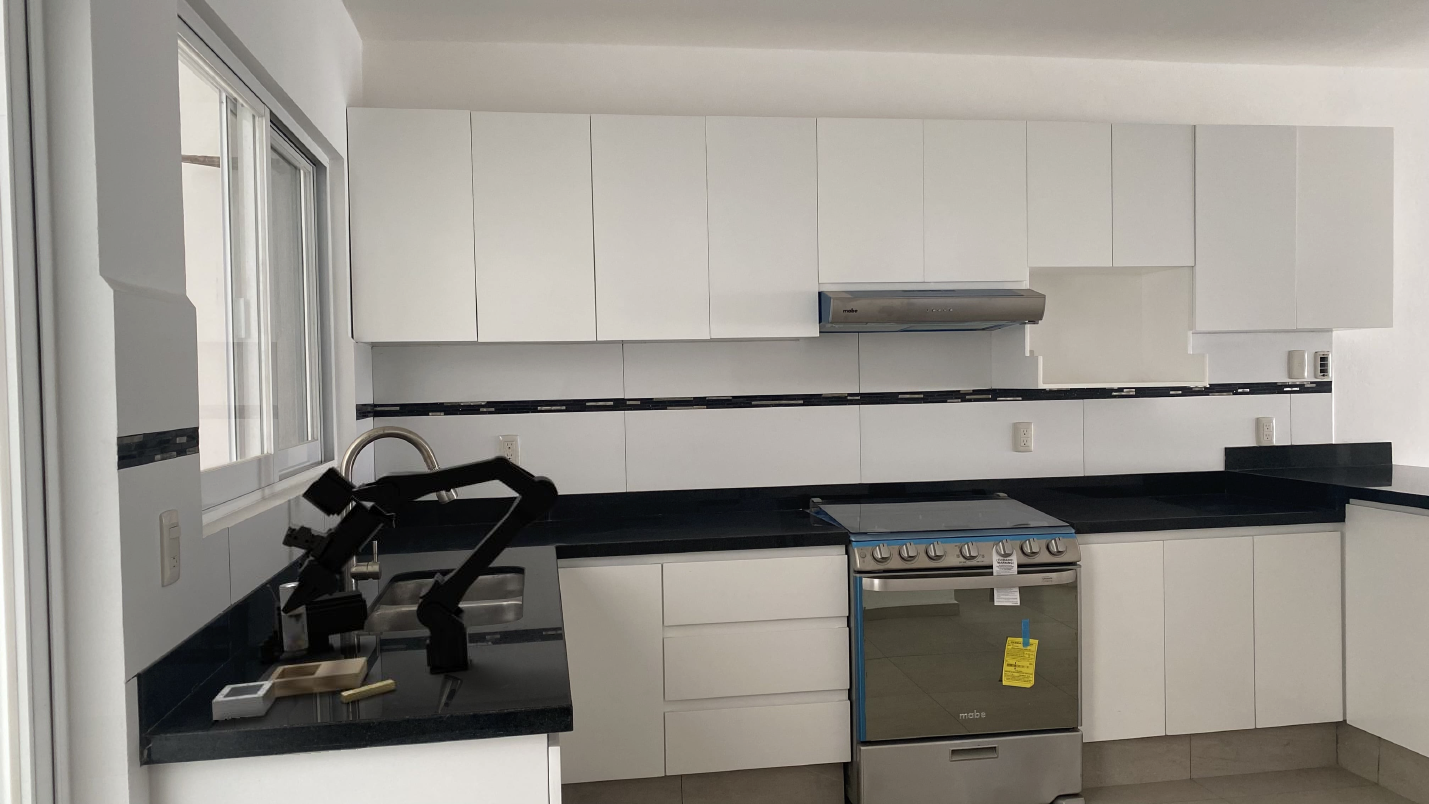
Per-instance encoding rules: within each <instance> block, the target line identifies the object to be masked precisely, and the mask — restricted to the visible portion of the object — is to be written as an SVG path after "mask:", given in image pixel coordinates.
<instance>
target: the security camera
mask: <svg viewBox="0 0 1429 804" xmlns="http://www.w3.org/2000/svg"><path fill="white" fill-rule="evenodd" d="M305 610H306V623H307V635H308V647H307V648H304V649H305V654H306V655H307V656H308V655H309V654H310V655H314V653H315V654H320V653H319V652H321V653H324V652H325V651H326V652H330V651H329V650H331V651H334V650H335V647H334V646H335V645H334V644H333V643H332V642H331V643H330V636H334V635H341V634H346V633H351V632H357V631H363V630H365V624H366V621H368V617H369V614H368V604H367V599H366V598H365V597H363V593H362V591H360V589H352V590H345V591H341V592H340V591H339V592H338V591H337V592H335V593H334V594H333V595H332V596H329V595H328V594H327V595H324V596H322V597H320V598H318V599H316V600H314V601H312V602H310V603H308V604H306V605H305ZM274 621H275V622H274V623H275V628H274V629H272V630H271V631H272V633H271V634H270V633H269V634H267V638H265V639H263V643H262V644H261V643H260V644H258V649H259V659H260V660H263V659H264V661H265V662H266V663H270V662H269V661H272V662H276V661H275V660H277V661H280V660H281V659H280V654H279V652H275V648H277V647H278V648H277V649H278V651H285V650H284V639H283V626H282V614H281V602H280V601H278V602H275V604H274ZM326 652H325V653H326Z"/></svg>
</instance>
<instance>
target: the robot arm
mask: <svg viewBox="0 0 1429 804" xmlns="http://www.w3.org/2000/svg"><path fill="white" fill-rule="evenodd" d="M493 481H499V482H500V483H502V484H504V485H505V486H506V487H508V488H509V489H510V490H512V491H513V492H515V493H516V494H517V495H518V496H517V497H516V499H515V501H514V502H513V504H512V506H511V507H510V509H509V511H508V512H507V514H506V515H505V516H504V517H503V518H502V519H501V520H500V521H499V522H498V523H497V524H496V525H495V526H494V527H493V529H492V530H491V531H490V532H489V533H487V535H486V536H485V537H484V538H483V539H482V540H481V541H480V542H479V543H478V544H477V545H476V546H475V548H474V549H473V550H472V551H470V553H469V554H468V555H467V556H466V557H465V558H464V559H463V561H461V562H460V564H458V566H457V567H456V568H455V569H454V570H453V571H451V572H450V573H448V574H447V575H446V576H443V575H442V574H441V573H440V572H437V573H436V574H435V576H434V577H433V578H432V580H431V582H430V583H429V584H427V585H426V586H424V587H422V588H421V589H422V590H421V592H420V594H419V598H418V599H419V602H418V605H417V607H416V611H415V612H416V617H417V621H418V623H420V624H421V625H422V626H423V627H425V628H427V629H428V631H429V634H428V639H426V643H425V649H426V651H425V652H426V666H427V667H428V668H429V670H428V671H429V672H428V673H429V674H434V673H444V672H452V671H453V672H454V671H463V670H469V668H470V662H471V655H470V651H469V649H470V648H469V632H468V630H469V629H468V626H465V624H466V623H465V622H466V617H467V612H466V610H464V608H462V607H461V606H459V605H460V603H461V602H462V600H463V598H464V597H465V594H466V593H467V591H468V589H470V587H471V586H472V585H473V584H474V583H475V582H476V581H477V580H478V578H479V577H480V576H482V574H484V572H485V571H486V570H488V568H489V567H490V566H491V564H493V563H494V561H495V560H496V559H497V558H498V557H499V556H500V555H501V554H502V553H503V552H504V550H506V549H507V548H508V546H509V545H510V544H511V543H512V542H513V541H514V540H515V539H516V538H517V537H518V536H519V534H520V533H521V532H522V531H523V530H525V528H527V527H529V526H530V525H532V524H533V523H535V522H537V521H538V520H540V518H542V517H544V516H545V515H546V514H547V513H549V512H550V511H552V510H553V509H554V508H555V506H556V505H557V503H558V501H559V492H558V488H557V486H556V484H555V482H554V481H553V479H552V478H550V477H547V476H544V475H537V476H536V475H534V474H533V473H531V472H529V470H526V469H524V468H523V467H521V466H519V464H518V465H517V464H516V463H514V462H513V461H511V460H510V458H508V457H507V456H504V455H496V456H494V457H490V458H488V459H483V460H477V461H472V462H467V463H463V464H457V465H452V466H447V467H443V468H438V469H433V470H427V471H426V470H425V471H420V470H419V471H415V470H414V471H413V470H412V471H411V470H410V471H409V470H407V471H406V470H405V471H404V470H403V471H390V472H385V473H384V474H382V475H381V476H379V477H378V478H377V479H375V481H372V482H371V481H370V482H367V483H365V482H363V483H361V484H357V485H356V484H354V483H353V482H352V481H350V480H349V479H348V478H346V477H345V475H343V474H342V473H341V472H340V470H338V469H337V468H336V467H335V466H333V465H332V466H330V467H328V469H326V471H324V473H322V474H321V475H320V477H319V478H317V479H315V480H314V481H313V482H311V484H310V485H309V487H308V488H306V490H305V491H304V492H303V493H302V495H301V497H302V498H303V499H305V500H306V501H307V502H308V503H310V504H311V505H312V506H313V507H315V509H318V510H319V511H320V512H321V513H323V514H324V515H326V517H328V518H330V517H331V516H333V517H334V516H335V515H336V516H337V517H340V515H342V513H344V511H345V510H346V509H347V508H348V507H349V506H350V505H351V504H352V503H353V502H354V503H355V504H353V506H352V507H351V508H350V509H349V510H348V512H346V514H345V515H344V516H343V517H342V519H340V521H339V522H338V523H337V524H336V525H335V526H333V527H329V528H328V529H327V530H326V531H325V532H323V531H320V530H317V529H314V528H312V526H304V524H301V525H300V524H297V523H293V522H290V523H289V526H288V528H287V530H286V533H285V535H284V537H283V540H282V543H281V544H282V545H283V546H285V547H287V548H292V547H293V548H297V549H299V550H303V552H302V553H301V557H302V558H304V559H305V558H307V559H306V561H303V560H302V559H299V562H298V564H299V565H298V567H299V568H298V570H297V575H298V577H297V579H296V581H295V582H299V583H298V584H297V586H296V587H295V589H294V590H293V592H292V594H291V595H290V597H289V598H288V600H287V602H286V603H285V605H284V606H283V608H282V610H281V611H282V612H283V613H284V614H289V613H290V612H292V611H294V610H296V609H298V608H300V607H302V606H304V605H306V604H308V603H310V602H312V601H314V600H316V599H318V598H320V597H322V596H324V595H327V594H328V595H329V596H332V595H333V594H334V593H337V592H338V590H339V589H340V587H341V586H340V577H341V575H342V574H343V573H344V572H345V571H344V570H345V568H346V567H347V566H348V565H349V564H350V563H351V562H352V560H353V559H354V558H355V557H358V556H359V555H360V554H361V553H362V549H363V548H364V547H365V545H366V544H367V543H368V542H369V541H370V540H371V539H372V538H373V536H374V535H375V534H376V533H377V532H378V531H379V529H381V528H382V526H385V527H386V528H387V529H388V530H390V531H393V530H395V517H396V516H395V515H396V513H394V512H392V513H387V512H385V511H384V510H394V509H397V508H400V507H402V506H404V505H407V504H410V503H412V502H415V501H416V500H419V499H421V498H423V497H426V496H428V495H431V494H435V493H441V492H444V491H448V490H449V491H450V490H454V489H459V488H463V487H468V486H469V487H470V486H474V485H479V484H484V483H487V482H493ZM364 502H365V503H364ZM366 503H373V504H372V505H371V506H370V507H369V505H367V504H366Z"/></svg>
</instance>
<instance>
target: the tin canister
mask: <svg viewBox="0 0 1429 804" xmlns="http://www.w3.org/2000/svg"><path fill="white" fill-rule="evenodd" d="M298 583H299V582H296V581H295V582H289V583H283V584H281V585H279V586H278V587H279V598H280V601H279V602H281V610H282V608H283V606H284V605H285V603H286V602H287V600H288V598H289V597H290V595H291V594H292V592H293V590H294V589H295V587H296V586H297V584H298ZM281 614H282V626H283V639H284V650H283V651H285V652H296V651H301V650H304V649H305V648H307V647H308V635H307V623H306V610H305V605H304V606H302V607H300V608H298V609H296V610H294V611H292V612H290V613H289V614H284V613H283V612H282V611H281Z"/></svg>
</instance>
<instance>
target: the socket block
mask: <svg viewBox="0 0 1429 804" xmlns="http://www.w3.org/2000/svg"><path fill="white" fill-rule="evenodd" d="M276 698H277V697H275V683H274V681H268V680H267V681H265V680H264V681H258V682H247V683H238V684H228V685H226V686H225V687H224V688H223V689H222V690H221V691H220V692H219V693H218V694H217V696H215V698H214V699H213V700H212V702H211V705H212V720H213V722H215V721H214V720H219V721H225V719H227V720H232V719H231V718H236V719H241V718H240V717H245V718H251V717H252V718H253V717H260V716H265V714H267V713H266V712H267V711H268V710H269V709H270V707H271V706H272V705H273V703H274V702H275V701H276Z"/></svg>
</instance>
